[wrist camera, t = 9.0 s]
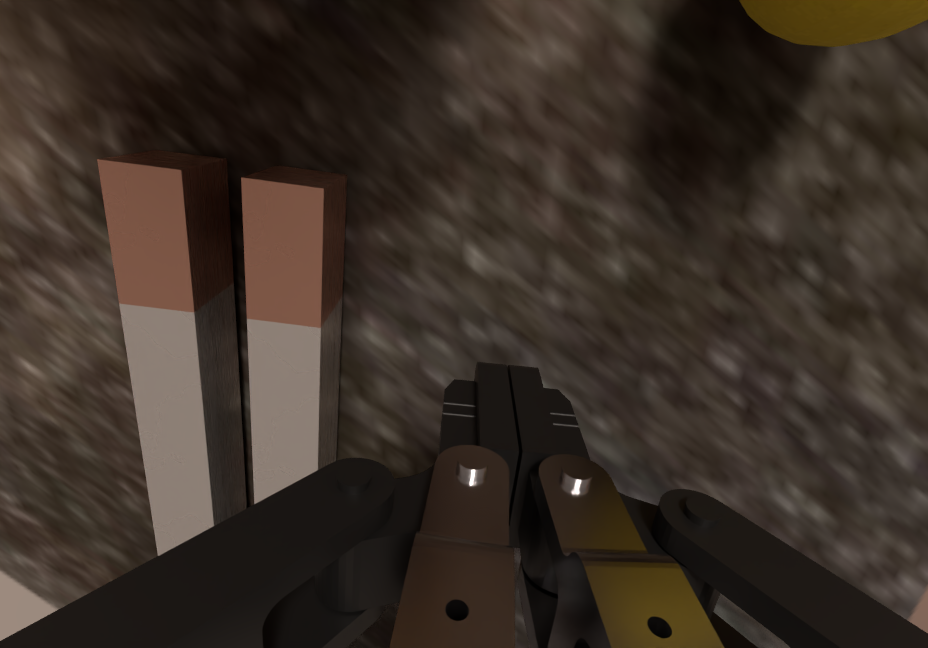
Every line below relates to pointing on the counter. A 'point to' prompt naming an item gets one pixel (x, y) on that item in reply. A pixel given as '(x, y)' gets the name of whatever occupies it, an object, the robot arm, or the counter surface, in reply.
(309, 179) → the leg
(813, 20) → the lemon
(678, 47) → the counter surface
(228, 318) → the tongs fixed leg
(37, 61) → the counter surface
